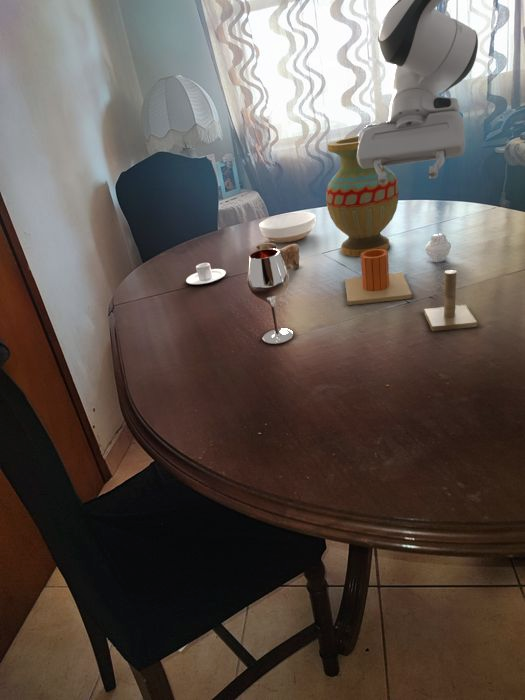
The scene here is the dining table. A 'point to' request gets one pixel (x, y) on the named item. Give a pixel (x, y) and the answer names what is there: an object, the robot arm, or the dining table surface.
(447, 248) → the muffin
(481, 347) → the dining table surface
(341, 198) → the vase
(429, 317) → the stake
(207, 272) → the candle holder
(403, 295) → the cork mat
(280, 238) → the bowl
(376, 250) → the orange ring
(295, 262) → the figurine
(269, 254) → the wineglass
